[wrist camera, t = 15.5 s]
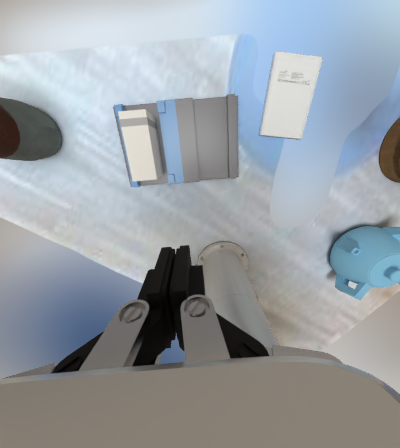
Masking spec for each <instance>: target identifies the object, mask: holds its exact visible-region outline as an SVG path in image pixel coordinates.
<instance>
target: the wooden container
mask: <svg viewBox="0 0 400 448" xmlns="http://www.w3.org/2000/svg"><path fill="white" fill-rule="evenodd" d="M380 167H381V170H382V172H383V173H384V175H385V176H386V177H387V178H389V179H390V180H392V181H395V182H399V183H400V118H399V119H398V120H397V121H396V122H395V123H394V125H393V126H392V127H391V129H390V130H389V132H388V133H387V135H386V136H385V139H384V141H383V144H382V146H381V150H380Z"/></svg>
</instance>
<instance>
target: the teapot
mask: <svg viewBox="0 0 400 448" xmlns="http://www.w3.org/2000/svg"><path fill="white" fill-rule="evenodd" d="M330 262H331V265H332V268H333V269H334V271H335V272H336V282H335V287H336V288H337V289H338V290H340V291H342V292H344V293H346V294H348V295H350V296H352V297H354V298H356V299H359V300H361V299H362V298H363V296H364V295H365V294H366V293H367V292H368V290H369V289H370V288H371V287H388V286H392V285H394V284H396V283H399V284H400V227H383V228H379V227H375V226H364V227H359V228H356V229H353V230H351V231H349V232H347V233H345V234H343V235H342V236H341V237H340V238H339V239H338V240H337V241H336V242H335V244H334V245H333V247H332V250H331V254H330ZM349 281H351V282H354V283H357V284H358V285H357V286H356V288H355V290H354V289H352V288H351V287H349V286H348V283H349Z"/></svg>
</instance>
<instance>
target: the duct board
mask: <svg viewBox="0 0 400 448" xmlns="http://www.w3.org/2000/svg"><path fill="white" fill-rule="evenodd" d="M113 109H114V113H115V118H116V122H117V127H118V131H119V136H120V140H121V145H122V149H123V154H124V158H125V163H126V167H127V171H128V176H129V180H130V185H131V187H139V186H144V185H155V184H166V183H169V184H176V183H188V182H199V181H200V180H211V179H222V178H229V179H232V178H236V177H238V96H235V94H229V95H227V97H217V98H206V99H195V100H192V98H185V99H175V100H164V101H157V103H151V104H140V105H129V106H124V105H122V104H120V105H114V107H113ZM141 109H146V110H147V111H148V112H149V113H151V114H152V115H153V116H154V117H155V120H156V125H157V133H158V140H159V147H160V154H161V160H162V167H163V175H162V176H161V177H159V178H158V179H156V180H144V181H133V180H132V175H131V171H130V166H129V161H128V157H127V152H126V147H125V143H124V138H123V133H122V129H121V125H120V120H119V114H118V111H130V110H141Z"/></svg>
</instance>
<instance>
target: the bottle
mask: <svg viewBox="0 0 400 448" xmlns="http://www.w3.org/2000/svg"><path fill="white" fill-rule="evenodd" d="M61 142H62V137H61V133H60V130H59V128H58V126H57V125H56V123H55V122H54V121H53V120H52V119H51V118H50V117H49V116H48V115H46V114H45V113H43V112H42V111H40V110H39V109H37V108H35V107H32V106H30V105H28V104H25V103H23V102H20V101H16V100H12V99H5V98H0V158H2V159H11V160H24V161H35V160H39V159H44V158H47V157H49V156H52V155H54V154H55V153H56V152H57V151H58V150H59V149H60V146H61Z"/></svg>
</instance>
